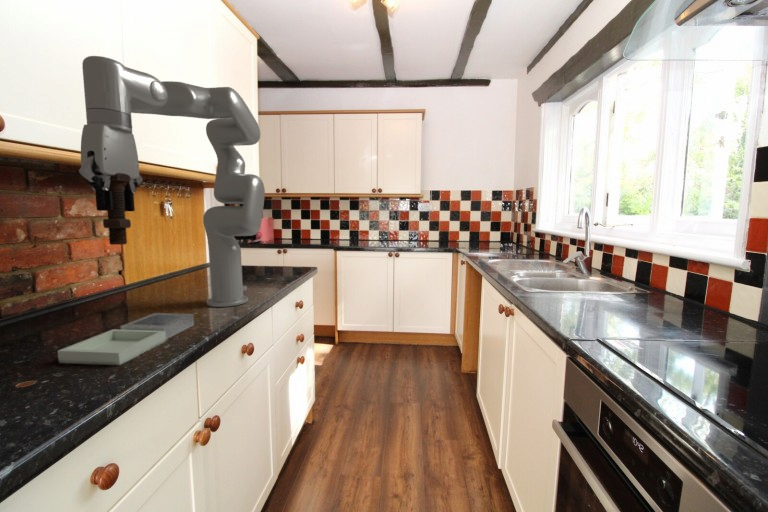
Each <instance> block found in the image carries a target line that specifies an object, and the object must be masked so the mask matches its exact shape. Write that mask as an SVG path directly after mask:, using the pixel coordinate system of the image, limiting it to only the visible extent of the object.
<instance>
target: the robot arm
mask: <svg viewBox="0 0 768 512" xmlns="http://www.w3.org/2000/svg"><path fill="white" fill-rule="evenodd" d="M81 63H82V67H81V68H82V77H83V78H82V79H83V89H84V91H83V92H84V104H85V116H86V123H85V124H83V127H82V132H81V139H80V166H81V167H80V168H79V170H78V173H79V174H80V175H81V176H82V177H83V178H85V179H86V181H87V183H89V184H90V186H91V190H92V191H94V195H95V206H96V210H97V212H99V211H101V212H102V211H104V212H105V211H106V212H107V211H112V210H113V198H112V191H108V190H109V186H110V180H111V176H114V175H115V174H117V173H124V174H127V175H129V176H130V182H127V183H124V187H125V190H124V194H123V195H124V198H125V199H124V201H125V202H124V203H125V205H124V206H125V208H124V209H125V212H135V196H134V194H135V193H137V188H138V187H139V185H141V183H142V182H143V180H144V179H143V177H142V175H141V174H140V165H139V164H140V163H139V162H140V161H139V155H138V148H137V144H136V143H137V142H136V140H135V139H136V138H135V136H134V134H133V125H132V124H133V123H132V122H133V121H132V120H133V119H132V114H142V115H145V114H146V115H157V116H158V115H159V116H167V117H185V118H195V119H206V120H209V121H208V122H207V123H206V126H205V132H206V133H205V134H206V136H207V138H208V139H207V140H208V141H209V143H210V145H211V146H212V148H213V151H214V152H215V155H216V157H217V163H216V164H217V166H216V173H215V179H214V184H213V196H214V199H215V200H216V201H217V202H219V203H222V204H226V205H215V206H212V207H210V208H208V209H207V210H206V211H205V212H204V214H203V217H202V218H203V219H202V220H203V221H202V222H203V227H204V230H205V234H206V238H207V239H206V240H207V244H208V257H209V258H208V260H209V261H208V262H209V274H210V277H209V278H210V289H211V292H210V293H211V297H210V298H208V299H207V300H206V305H207V306H208V307H213V308H214V307H215V308H216V307H217V308H225V307H232V306H233V307H234V306H239V305H242V304H247V302H248V301H249V296H247V295H244V292H246V291H247V290H248V286H246V285H243V269H242V265H243V264H242V250H241V246H240V244H239V242H238V240H237V239H236V238H235V237H248V236H249V237H250V236H251V237H252V236H255V235H257V234H258V233H259V231H260V229H261V225H262V221H263V212H264V206H265V205H264V204H265V195H266V191H265V186H264V182H263V180H262V179H261V178H260V177H259V176H258V175H256V174H252V173H246V162H245V160H244V158H243V156H242V155H241V153H240V152H239V151H238V149H236V147H240V146H253V145H256V144H257V143H259V141H260V139H261V129H260V126H259V123H258V122H257V120H256V118H255V117H254V115H253V112H251V110H250V108H249V106H248V105H247V104H246V102H245V101H244V99H243V97H242V96H241V95H240V94H239V92H237V91H236V90H235V89H234V88H233V87H230V86H220V87H219V86H217V87H204V86H199V85H193V84H190V83H186V82H182V81H174V80H173V81H172V80H171V81H165V80H164V81H162V80H160V79H158V78H157V77H155V76H154V75H152V74H150V73H148V72H144V71H140V70H137V69H134V68H130V67H127V66H125V65H124V64H123V63H121V62H119V61H117V60H115V59H113V58H110V57H105V56H102V55H101V56H99V55H90V56H89V55H88V56H86V57H84V59H83V60H82V62H81ZM100 173H102V174H103V175H100ZM100 179H103V181H101V180H100Z"/></svg>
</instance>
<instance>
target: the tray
mask: <svg viewBox="0 0 768 512" xmlns="http://www.w3.org/2000/svg"><path fill="white" fill-rule="evenodd" d="M166 342H167V339H166V333H165V331H150V330H121V329H114V328H113V329H110V330H108V331H106V332H102V333H100V334H98V335H95V336H91V337H89V338H87V339H84V340H82V341H79V342H76V343H74V344H72V345H69V346H67V347H63V348H61V349H59V350H57V358H58V363H59V364H75V365H76V364H81V365H102V366H103V365H105V366H106V365H107V366H122V365H123V364H126V363H127V362H129V361H131V360H132V359H135V358H137V357H139V356H141V355H142V353H143V354H144V352H145V353H146V351H147V352H148V351H150V350H153V349H154V348H156V347H158V346H160V345H162V344H164V343H166ZM140 354H141V355H140Z"/></svg>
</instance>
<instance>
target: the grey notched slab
mask: <svg viewBox="0 0 768 512" xmlns="http://www.w3.org/2000/svg"><path fill="white" fill-rule="evenodd" d="M194 326H195V318H194V314H193V313H173V312H172V313H165V312H164V313H163V312H161V313H160V312H153V313H151V314H148V315H146V316H144V317H140V318H138V319H135V320H133V321H130V322H127V323H125V324H122V325H120V330H150V331H165V333H166V340H169V338H172V337H174V336H176V335H177V334H179V333H181V332H183V331H186V330H187V329H189V328H191V327H194Z"/></svg>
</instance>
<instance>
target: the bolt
mask: <svg viewBox="0 0 768 512" xmlns="http://www.w3.org/2000/svg"><path fill="white" fill-rule="evenodd" d="M100 175H103V174H102V173H100ZM100 180H101V181H102V182H103V179H100ZM127 182H130V176H129V175H127V174H124V173H117V174H115V175H114V176H111V180H110V186H109V190H108V191H112V198H113V210H112V211H106V212H107V213H106V214H107V218H104V219H103V220H102V224H103V225H102V226H103V228H104V229H107V232H108V243H109V244H110V245H113V246H114V245H115V246H116V245H126V244H127V242H128V240H127V239H128V237H127V236H128V234H127V233H128V232H127V229H130V228H131V226H132V223H131V222H132V221H131V220H130V219H129V218H126V212H127V211H125V209H124V208H125V206H124V205H125V203H124V202H125V201H124V199H125V198H124V195H123V194H124V190H125V187H124V183H125V184H127Z"/></svg>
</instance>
